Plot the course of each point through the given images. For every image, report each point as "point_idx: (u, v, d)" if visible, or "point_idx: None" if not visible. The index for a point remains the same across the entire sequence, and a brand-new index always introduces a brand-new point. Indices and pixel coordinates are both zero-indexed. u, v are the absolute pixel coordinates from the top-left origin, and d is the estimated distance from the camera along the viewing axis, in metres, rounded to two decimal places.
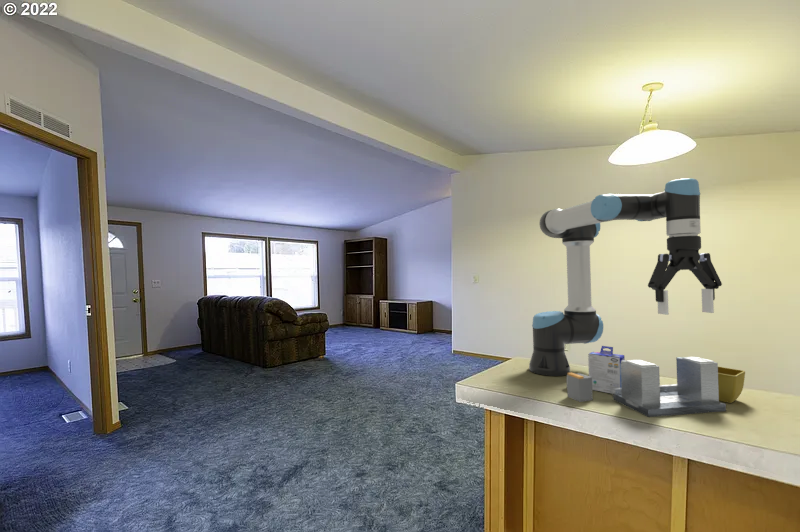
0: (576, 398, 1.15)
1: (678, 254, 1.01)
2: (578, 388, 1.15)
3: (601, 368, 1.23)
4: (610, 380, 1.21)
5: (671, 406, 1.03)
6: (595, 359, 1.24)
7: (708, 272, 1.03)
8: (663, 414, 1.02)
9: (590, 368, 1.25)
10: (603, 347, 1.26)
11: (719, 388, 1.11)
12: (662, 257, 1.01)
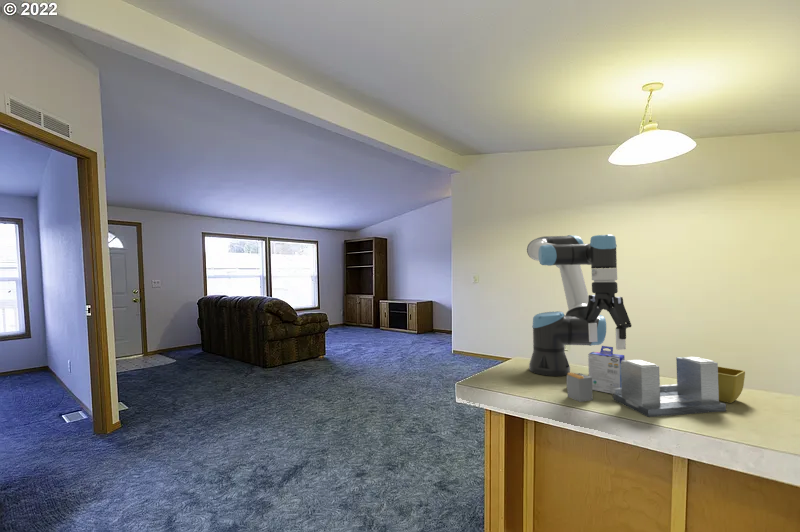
0: (576, 398, 1.15)
1: (596, 296, 1.27)
2: (578, 388, 1.15)
3: (601, 368, 1.23)
4: (610, 380, 1.21)
5: (671, 406, 1.03)
6: (595, 359, 1.24)
7: None
8: (663, 414, 1.02)
9: (590, 368, 1.25)
10: (603, 347, 1.26)
11: (719, 388, 1.11)
12: None
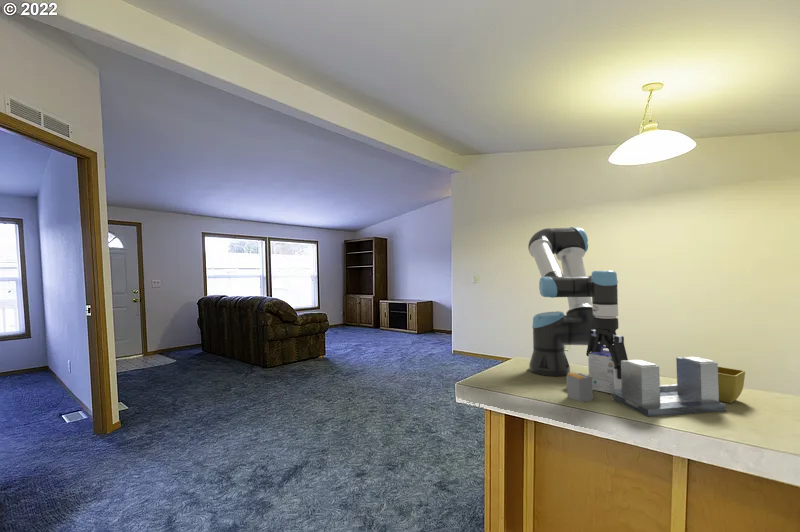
0: (576, 398, 1.15)
1: (597, 330, 1.27)
2: (578, 388, 1.15)
3: (601, 368, 1.23)
4: (610, 380, 1.21)
5: (671, 406, 1.03)
6: (595, 359, 1.24)
7: None
8: (663, 414, 1.02)
9: (590, 368, 1.25)
10: (603, 347, 1.26)
11: (719, 388, 1.11)
12: None
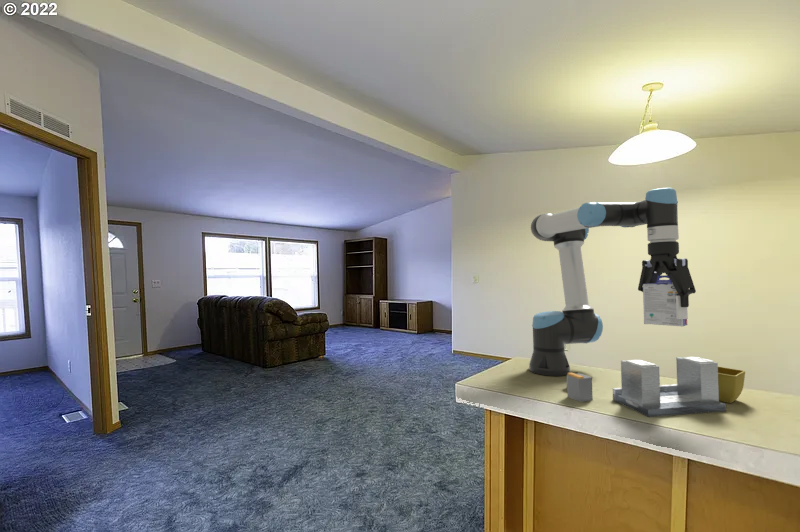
0: (576, 398, 1.15)
1: (652, 259, 1.13)
2: (578, 388, 1.15)
3: (659, 298, 1.08)
4: (670, 310, 1.07)
5: (671, 406, 1.03)
6: (651, 289, 1.10)
7: None
8: (663, 414, 1.02)
9: (645, 300, 1.11)
10: (660, 276, 1.11)
11: (719, 388, 1.11)
12: None
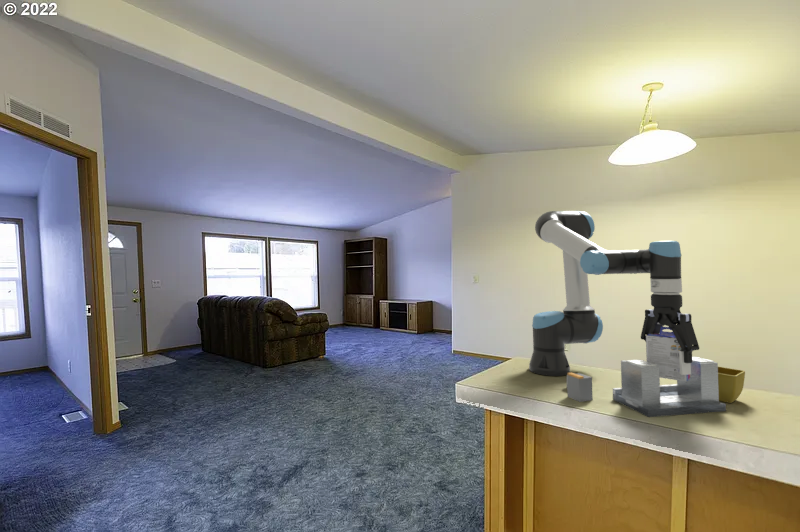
0: (576, 398, 1.15)
1: (655, 309, 1.12)
2: (578, 388, 1.15)
3: (662, 351, 1.08)
4: (673, 364, 1.06)
5: (671, 406, 1.03)
6: (654, 342, 1.10)
7: None
8: (663, 414, 1.02)
9: (648, 352, 1.10)
10: (663, 328, 1.11)
11: (719, 388, 1.11)
12: None
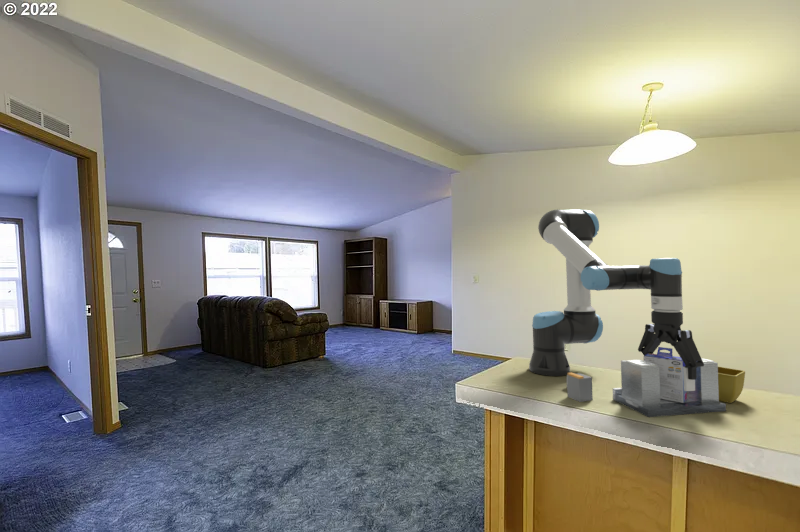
0: (576, 398, 1.15)
1: (656, 326, 1.12)
2: (578, 388, 1.15)
3: (660, 372, 1.09)
4: (670, 386, 1.07)
5: (671, 406, 1.03)
6: (652, 362, 1.11)
7: None
8: (663, 414, 1.02)
9: None
10: (660, 348, 1.12)
11: (719, 388, 1.11)
12: None
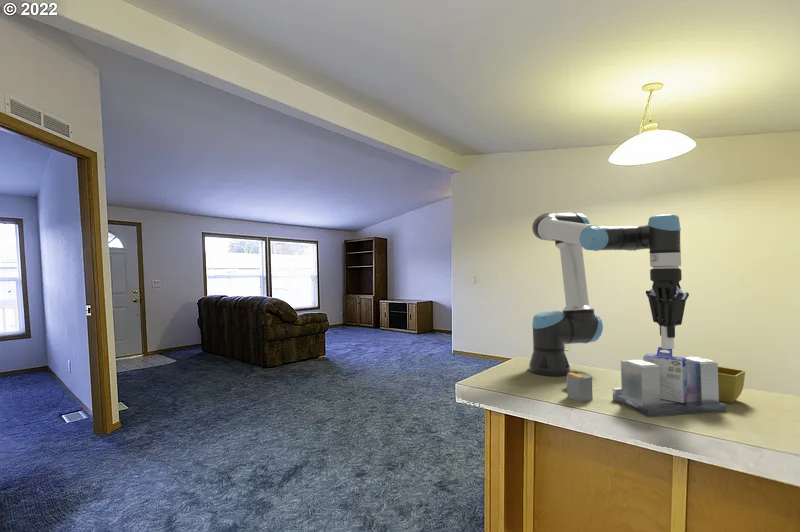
0: (576, 398, 1.15)
1: (653, 284, 1.13)
2: (578, 388, 1.15)
3: (660, 372, 1.09)
4: (670, 386, 1.07)
5: (671, 406, 1.03)
6: (652, 362, 1.11)
7: None
8: (663, 414, 1.02)
9: None
10: (660, 348, 1.12)
11: (719, 388, 1.11)
12: None
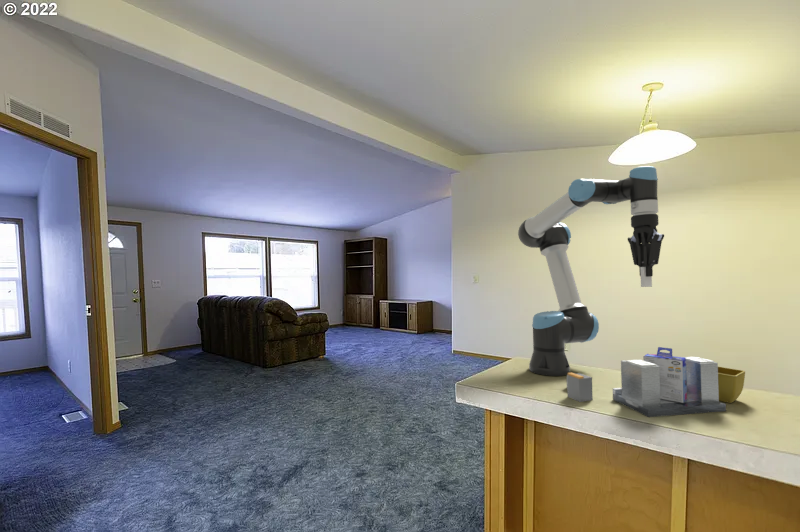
0: (576, 398, 1.15)
1: (634, 231, 1.25)
2: (578, 388, 1.15)
3: (660, 372, 1.09)
4: (670, 386, 1.07)
5: (671, 406, 1.03)
6: (652, 362, 1.11)
7: None
8: (663, 414, 1.02)
9: None
10: (660, 348, 1.12)
11: (719, 388, 1.11)
12: None
